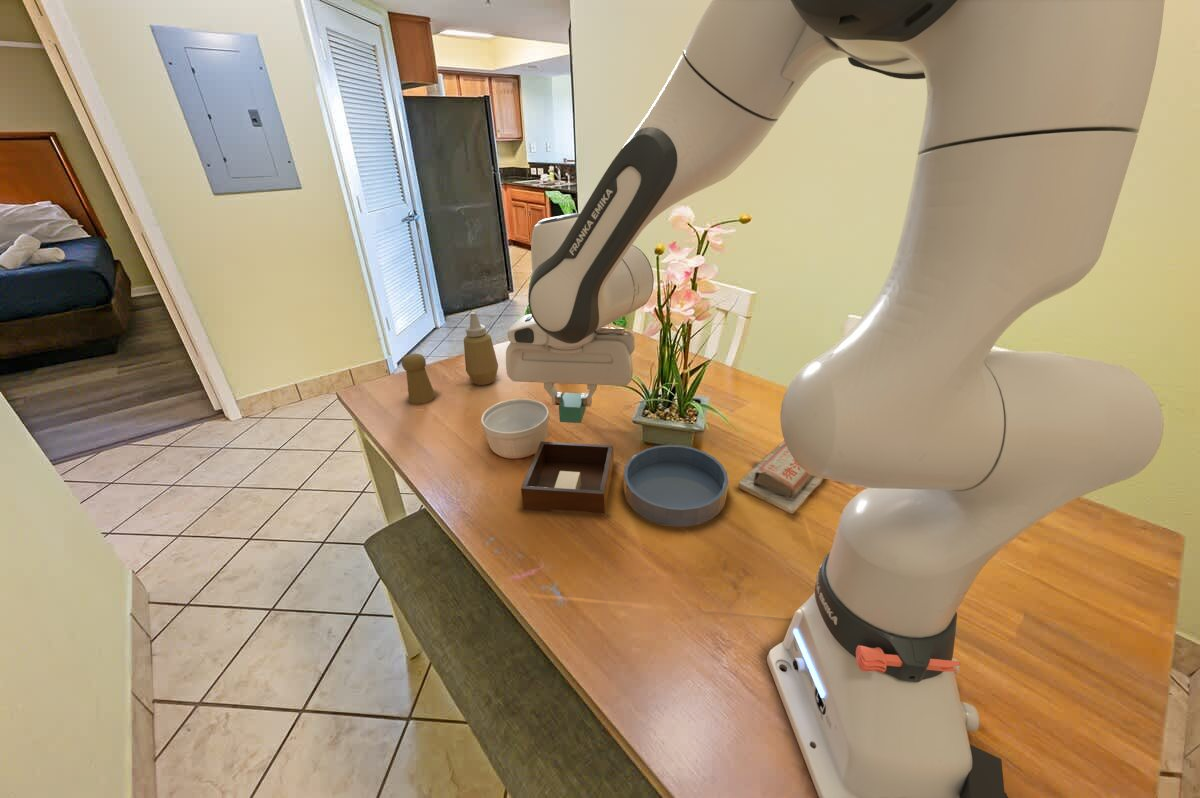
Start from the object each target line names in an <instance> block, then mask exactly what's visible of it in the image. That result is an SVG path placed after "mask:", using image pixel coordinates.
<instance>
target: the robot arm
mask: <svg viewBox="0 0 1200 798" xmlns="http://www.w3.org/2000/svg"><path fill="white" fill-rule="evenodd" d="M1165 1H1166V0H711V2H710V3H709V5H708V6H707V8H706V10H705V11H704V13H703V14H702V16H701V18H700V20H699V21H698V23H697V25H696V26H695V28H694V30H693V32H692V34H691V35H690V37H689V39H688V40H687V41H688V42H687V43H686V45H685V47H684V48H683V51H682V53H681V55H680V57H679V58H678V60H677V62H676V64H675V66H674V68H673V70H672V72H671V73H670V75H669V77H668V78H667V80H666V83H665V84H664V86H663V88H662V89H661V91H660V92H659V94H658V96H657V97H656V99H655V101H654V103H653V104H652V106H651V107H650V109H649V110H648V111H647V114H646V115H645V117H643V119H642V121H641V122H640V123H639V125H638V126H637V128H636V129H635V130H634V132H633V133H632V134H631V136H630V137H629V138H628V139H627V141H626V142H625V144H624V145H623V146H622V148H621V149H620V151H618V153H617V154H616V156H615V157H614V158H613V160H612V161H611V163H610V164H609V166H608V168H607V169H606V170H605V172H604V173H603V175H602V177H601V178H600V180H599V181H598V183H597V185H596V187H595V188H594V190H593V192H592V193H591V195H590V197H589V198H588V200H587V201H586V203H585V205H584V207H583V209H582V210H581V212H580V213H578V212H573V213H566V214H562V215H557V216H552V217H548V218H543V219H541V220H539V221H538V222H537V223H536V224H534V226H533V229H532V233H531V241H530V247H531V248H530V251H531V252H530V258H531V259H530V260H531V272H532V275H531V279H530V282H529V286H528V294H527V295H528V296H527V298H528V299H527V301H528V309H529V312H530V313H528V314H525V315H522V316H520V317H518V318H517V319H516V320H515V321H514V322H513V323H512V324H511V326H510V327H509V329H508V330H507V339H508V341H509V344H508V345H507V347H506V350H505V369H506V375H507V377H508V378H509V380H511V381H512V382H515V383H516V382H517V383H518V382H519V383H539V384H541V383H543V389H544V390H545V391H546V392H547V394H548V395H549V396H550V398H551V403H552V404H551V405H553V406H559V405H560V402H561V400H562V398H563V395H564V393H563V391H558V389H557V388H556V386H555V384H567V385H586V387H587V390H588V391H587V392H582V393H583V394H582V397H581V402H582V406H586V408H587V407H589V408H591V407H592V402H593V399H592V397H593V395H594V394H595V393H596V390H597V387H598V386H618V387H622V386H623V387H626V386H628V385H629V384H630V383H631V382H632V380H633V373H634V371H633V369H634V368H633V367H634V366H633V357H632V354H633V353H634V351H635V336H634V334H633V333H632V332H631V331H629V330H627V329H625V327H622V326H617V327H609V326H608V325H611V324H612V323H615V322H616V321H619V320H620V319H622V318H624V317H626V316H628V315H629V314H631V313H634V312H636V311H637V310H639V309H640V308H642V307H644V306H645V305H646V304H647V303H648V302H649V300H650V299H651V297H652V295H653V291H654V285H655V283H654V280H655V279H654V278H655V277H654V271H653V268H652V264H651V262H650V260H649V259H648V257H647V256H646V254H645V253H644V252H643V251H642V250H641V249H640V248H639V247H637V246H635V245H634V243H635V242H636V240H637V238H638V237H639V236H640V234H641V233H642V232H643V231H644V230H645V229H646V227H647V226H648V225H649V224H650V223H651V222H653V220H654V219H656V218H657V217H658V216H659V215H661V214H663V212H665V211H666V210H668V209H669V208H671V207H672V206H674V205H677V203H679V202H681V201H682V200H685V199H687V198H688V197H690V196H693V195H694V194H696V193H698V192H700V191H702V190H704V189H707V188H709V187H712V186H714V185H715V184H717V183H719V182H721V181H723V180H725V179H726V178H728V177H730V176H731V175H732V174H733V173H734V172H735V171H736V170H737V169H738V168H739V167H740V166H741V165H742V164H743V163H744V162H745V161H746V160H747V159H748V158H749V157H750V156H751V155H752V154H753V153H754V152H755V151H756V150H757V148H758V147H759V146H760V145H761V144H762V142H763V141H764V140H765V139H766V137H768V135H769V134H770V132H771V131H772V129H773V128H774V127H775V125H776V124H777V122H778V121H779V119H780V117H781V116H782V115H783V113H784V112H785V111H786V110H787V107H788V106H789V105H790V103H791V102H792V100H793V99H794V97H795V96H796V95H797V93H798V91H799V90H800V89H801V88H802V87H803V85H804V84H805V82H806V81H807V80H808V79H809V78H810V77H811V76H812V74H814V73H815V72H816V71H817V70H819V68H821V67H822V66H824V65H825V64H827V63H829V62H831V61H834V60H838V59H843V58H844V59H845V58H847V60H848V62H849V64H850V65H851V66H853V67H856V68H860V69H863V70H868V71H872V72H876V73H878V74H882V75H885V76H888V77H891V78H894V79H895V78H896V79H900V80H924V79H925V82H926V83H925V84H926V104H925V112H924V119H923V125H922V130H921V135H920V139H919V145H918V148H917V149H918V150H917V156H916V161H915V167H914V173H913V177H912V182H911V188H910V193H909V197H908V201H907V207H906V211H905V216H904V219H903V220H904V221H903V224H902V228H901V233H900V236H899V240H898V244H897V248H896V252H895V255H894V259H893V262H892V265H891V267H890V270H889V272H888V274H887V276H886V278H885V280H884V283H883V284H882V287H881V288H880V290H879V292H878V293H877V295H876V297H875V298H874V300H873V302H872V303H871V304H870V306H869V307H868V309H867V310H866V312H865V313H863V316H862V317H861V318H860V319H859V320H858V321H857V323H856V324H855V325H854V326H853V327H852V328H851V329H850V331H848V333H846V334H845V335H844V336H843V337H842V338H841V339H840V340H838V341H837V342H836V343H835V344H834V345H832V346H831V347H829V348H828V349H827V350H825V351H824V352H823V353H821V354H820V355H818V356H816V357H815V358H814V359H811V360H809V361H808V362H806V363H805V364H804V365H803V366H802V367H801V368H800V369H799V370H798V371H797V373H796V374H795V375H794V376H793V378H792V379H791V381H790V382H789V384H788V386H787V388H786V390H785V391H784V394H783V398H782V401H781V406H780V413H779V414H780V415H779V416H780V417H779V419H780V430H781V434H782V437H783V441H785V443H786V445H787V448H788V450H789V451H790V453H791V455H792V456H793V458H794V459H795V460H796V462H797V463H798V464H799V465H800V466H801V467H802V468H803V469H804V470H805V471H806V472H807V473H808V474H810V475H812V476H815V477H820V478H823V480H828V481H833V482H837V483H842V484H846V485H852V486H856V487H862V488H864V489H863V490H861V491H860V492H858V493H857V494H855V495H854V496H853V497H852V498H851V499H849V501H848V502H847V503H846V505H845V506H844V507H843V510H842V511H841V514H840V517H839V520H838V524H837V527H836V531H835V533H834V538H833V541H832V543H831V548H830V551H829V552H828V553H827V554H826V555H825V557H824V558H823V561H822V563H821V564H820V565H819V568H818V571H817V574H816V581H815V585H814V592H813V593H812V594H811V596H810V597H808V598H807V600H806V601H805V602H803V604H801V606H799V607H798V608H797V610H796V611H795V612H794V613H793V614H794V615H793V617H792V619H791V622H790V623H789V626H788V629H787V631H786V634H785V636H784V639H783V641H782V642H780V643H778V644H777V645H775V646H774V647H772V648H771V649H770V650H769V652H768V654H767V657H766V662H767V666H768V668H769V671H770V673H771V675H772V679H773V681H774V683H775V686H776V689H777V692H778V694H779V697H780V700H781V702H782V705H783V707H784V711H785V712H786V716H787V718H788V721H789V723H790V726H791V729H792V731H793V734H794V736H795V740H796V742H797V743H798V747H799V749H800V752H801V754H802V757H803V760H804V762H805V765H806V767H807V771H808V773H809V775H810V778H811V780H812V784H813V785H814V788H815V791H816V794H817V796H818V798H1009V796H1008V795H1007V793H1006V792H1005V783H1004V773H1003V763H1002V759H1001V757H997V756H995V755H993V754H991V753H990V752H987V751H986V750H984V749H981V748H980V747H977V746H975V745H973V744H970V740H969V735H968V732H970V733H977V732H978V730H979V728H980V717H979V713H978V710H977V708H976V706H975V705H973V704H972V703H968V702H965V701H961V696H960V692H959V687H958V683H957V679H956V675H957V674H959V673H960V666H961V662H960V661H958V659H956V658H954V650H955V639H956V637H957V635H958V623H957V619H958V610H959V607H960V606H961V604H962V602H963V600H964V599H965V597H966V596H967V594H968V592H969V590H970V589H971V587H972V585H973V583H974V581H975V580H976V578H977V577H978V575H979V574H980V573H981V571H982V570H983V569H984V567H985V566H986V565H987V564H988V563H989V562H990V561H991V560H992V559H993V558H994V557H995V556H997V554H999V552H1001V551H1002V550H1003V549H1004V548H1006V547H1007V546H1008V545H1009V544H1011V542H1013V541H1015V540H1016V539H1017V538H1018V537H1020V536H1021V535H1022V534H1023V533H1025V532H1026V531H1028V530H1029V529H1030V528H1032V527H1033V526H1035V525H1036V524H1037V523H1039V522H1041V521H1042V520H1043V519H1045V518H1046V517H1048V516H1049V515H1051V514H1052V513H1055V512H1056V511H1058V510H1060V508H1062V507H1063V506H1064V507H1065V506H1066V505H1067V504H1069V503H1071V502H1073V501H1075V500H1077V499H1079V498H1081V497H1084V496H1085V495H1088V494H1090V493H1093V492H1096V491H1097V490H1101V489H1103V488H1106V487H1109V486H1111V485H1114V484H1118V483H1120V482H1123V481H1126V480H1128V479H1132V477H1135V476H1137V475H1138V474H1139V473H1141V472H1142V471H1144V470H1145V468H1147V466H1149V464H1150V463H1151V462H1152V461H1153V459H1154V458H1155V457H1156V455H1157V453H1158V451H1159V449H1160V446H1161V443H1162V439H1163V436H1164V427H1165V426H1164V425H1165V424H1164V423H1165V422H1164V416H1163V415H1164V414H1163V410H1162V407H1161V404H1160V401H1159V398H1158V397H1157V395H1156V393H1155V392H1154V390H1153V389H1152V387H1151V386H1150V384H1149V383H1147V381H1146V380H1144V378H1142V377H1141V376H1140V375H1139V374H1137V373H1136V372H1134V371H1133V370H1131V369H1129V368H1127V367H1125V366H1123V365H1119V364H1116V363H1113V362H1108V361H1103V360H1099V359H1093V358H1090V357H1084V356H1080V355H1079V356H1078V355H1073V354H1067V353H1062V352H1056V351H1049V350H1048V351H1047V350H992V349H993V347H994V346H995V344H996V343H997V342H998V340H999V339H1000V338H1001V336H1002V335H1003V334H1004V333H1005V332H1006V331H1007V330H1008V328H1009V327H1010V326H1012V325H1013V323H1015V322H1016V321H1017V320H1018V319H1019V318H1020V317H1021V316H1022V315H1023V314H1025V313H1026V312H1028V311H1029V310H1030V309H1032V308H1033V307H1035V306H1036V305H1038V304H1041V303H1042V302H1044V301H1046V300H1049V299H1051V298H1053V297H1055V296H1057V295H1060V294H1062V293H1064V292H1066V291H1067V290H1069V289H1071V288H1072V287H1074V286H1075V285H1077V284H1078V283H1079V282H1081V281H1082V280H1083V279H1084V278H1085V277H1086V276H1087V275H1088V274H1089V273H1090V272H1091V271H1092V270H1093V269H1094V267H1095V266H1096V264H1097V263H1098V261H1099V259H1100V257H1101V256H1102V253H1103V248H1104V245H1105V243H1106V239H1107V237H1108V233H1109V230H1110V226H1111V223H1112V220H1113V217H1114V214H1115V210H1116V208H1117V204H1118V201H1119V198H1120V195H1121V191H1122V188H1123V184H1124V182H1125V178H1126V175H1127V172H1128V168H1129V166H1130V162H1131V159H1132V156H1133V154H1134V153H1133V152H1134V149H1135V146H1136V142H1137V140H1138V136H1139V135H1138V134H1139V132H1140V129H1141V125H1142V122H1143V118H1144V116H1145V115H1144V114H1145V112H1146V111H1145V110H1146V106H1147V103H1148V100H1149V95H1150V92H1151V88H1152V83H1153V78H1154V74H1155V69H1156V64H1157V59H1158V53H1159V47H1160V41H1161V35H1162V27H1163V20H1164V19H1163V18H1164V10H1165ZM781 669H783V671H782V670H781Z"/></svg>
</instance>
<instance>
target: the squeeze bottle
mask: <svg viewBox="0 0 1200 798" xmlns="http://www.w3.org/2000/svg"><path fill="white" fill-rule="evenodd" d="M465 333H466V335H465V336H464V337H463V349H464V363H465V364H464V365H465V372H466V373H467V375H468V377H469V379H470V380H471V382H472V383H473V385H477V386H486V385H489V384H492V383H494V382H495V381H496V379H497V375H498V369H499V363H498V359H497V356H496V355H497V354H496V351H495V348H494V343H493V339H492V336H491V334H489V333H487V329H486V325H484V324H481V323H480V320H479V318H478V315H477V312H475V311H473V312H470V319H469V326H466V327H465Z"/></svg>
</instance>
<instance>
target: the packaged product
mask: <svg viewBox="0 0 1200 798" xmlns="http://www.w3.org/2000/svg"><path fill="white" fill-rule="evenodd" d="M823 480H824V478H820V477H815V476H812V475H810V474H808V473H807V472H806V471H805V470H804V469H803V468H802V467H801V466H800V465H799V464H798V463H797V462H796V460H795V459H794V458H793V456H792V455H791V453H790V451H789V450H788V448H787V445H786V443H785V441H784V440H783V441H782V442H781V443H780V444H779V445H777V447H775V448H774V449H773V450H772V451H771V452H770V453H769V454H768V455H767V456H765V457H764V459H763V460H761V461H760V462H759V463H758V464H756V466H755V467H754V468H753V469H752V470H750V471H749V472H748V473H746V475H745V476H744V477H743V478H742V479H741V480H740V481H738V488H739V489H740V490H742V491H744V492H746V493H748V494H750V495H752V496H754V497H756V498H757V499H760V500H762V501H764V502H767V504H770V505H772V506H775V507H776V508H779V509H780V510H782V511H784V512H786V513H789V514H792V515H793V514H795V513H796V511H797V510H798V509H799V508H800V507H801V506H802V505H803V504H804V503H805V501H806V499H807V498H808V497H809V496H810V495H811V494H812V493H813V491H814V490H815V489H817V488H818V487H819V486H820V485H821V484H822V482H823Z"/></svg>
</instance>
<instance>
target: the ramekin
mask: <svg viewBox="0 0 1200 798" xmlns="http://www.w3.org/2000/svg"><path fill="white" fill-rule="evenodd" d="M549 420H550V410H549V408H548V407H547V405H546V404H545V403H543V402H541V401H539V400H537V399H532V398H531V399H530V398H513V399H512V398H511V399H506V400H503V401H500V402H498V403H495V404H492V405H491V406H490V407H488V408H487V409H486V410H485V411H484V412H483V413H482V415H481V418H480V423H481V427H482V430H483V431H484V434H485V438H486V440H487V443H488V447H489V448H490V449H491V451H492V452H493V453H495V454H496V455H498V456H499V457H502V458H505V459H514V460H516V459H524V458H528V457H531V456H533V455H535V454H536V452H537V449H538V447H539V445H540V443H541V442H548V438H549Z"/></svg>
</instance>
